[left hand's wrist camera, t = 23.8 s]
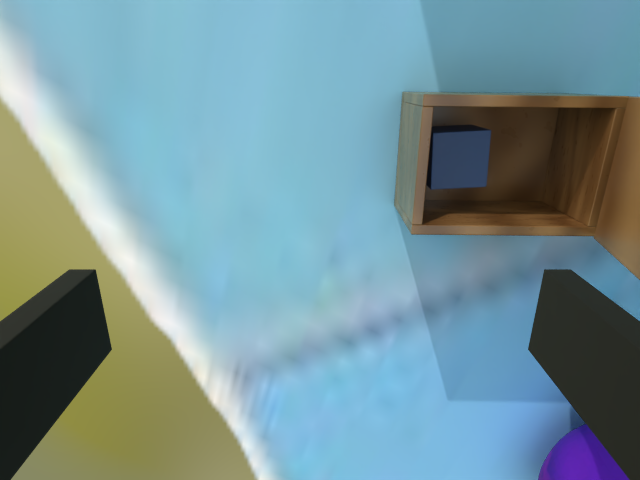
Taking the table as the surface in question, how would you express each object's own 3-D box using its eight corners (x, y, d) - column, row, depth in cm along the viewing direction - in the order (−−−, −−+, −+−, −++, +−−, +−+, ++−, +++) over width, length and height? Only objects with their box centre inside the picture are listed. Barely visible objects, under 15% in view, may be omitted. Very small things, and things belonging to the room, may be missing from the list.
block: (418, 178, 42) (430, 189, 37) (420, 127, 40) (433, 132, 35) (468, 175, 42) (486, 187, 37) (472, 124, 40) (491, 129, 35)
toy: (682, 320, 48) (587, 475, 60) (552, 331, 43) (479, 497, 55) (872, 443, 34) (699, 611, 46) (713, 478, 30) (568, 654, 42)
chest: (393, 205, 43) (411, 234, 35) (402, 91, 40) (423, 94, 31) (543, 207, 43) (595, 236, 35) (566, 93, 40) (631, 96, 31)
